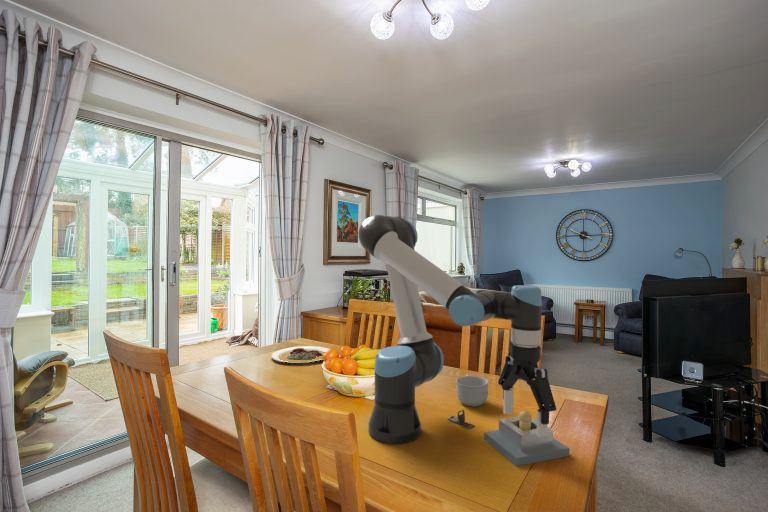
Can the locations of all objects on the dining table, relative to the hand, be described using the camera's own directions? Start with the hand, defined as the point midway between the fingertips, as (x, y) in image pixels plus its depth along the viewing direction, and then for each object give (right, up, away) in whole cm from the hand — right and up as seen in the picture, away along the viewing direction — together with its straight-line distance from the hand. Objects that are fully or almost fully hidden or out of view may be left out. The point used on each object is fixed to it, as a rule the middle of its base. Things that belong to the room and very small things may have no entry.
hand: (524, 423), depth 101 cm
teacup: (-7, -6, +31) cm, 33 cm away
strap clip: (-14, -7, +14) cm, 21 cm away
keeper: (0, -6, 0) cm, 6 cm away
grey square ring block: (0, -4, 0) cm, 4 cm away
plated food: (-77, -6, +87) cm, 117 cm away
